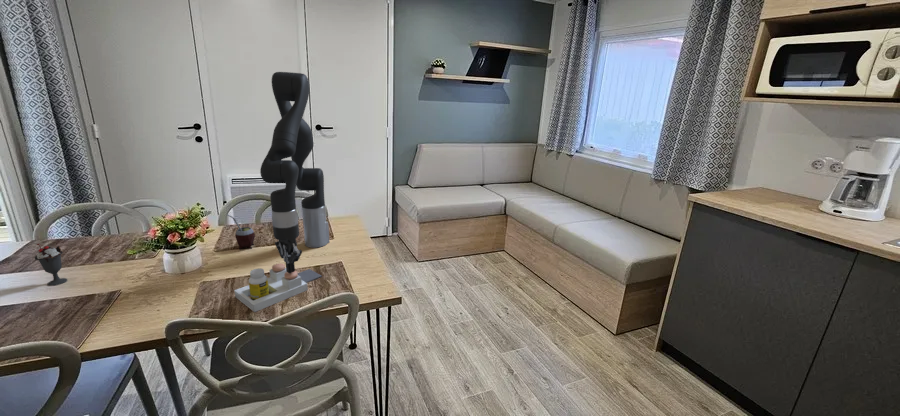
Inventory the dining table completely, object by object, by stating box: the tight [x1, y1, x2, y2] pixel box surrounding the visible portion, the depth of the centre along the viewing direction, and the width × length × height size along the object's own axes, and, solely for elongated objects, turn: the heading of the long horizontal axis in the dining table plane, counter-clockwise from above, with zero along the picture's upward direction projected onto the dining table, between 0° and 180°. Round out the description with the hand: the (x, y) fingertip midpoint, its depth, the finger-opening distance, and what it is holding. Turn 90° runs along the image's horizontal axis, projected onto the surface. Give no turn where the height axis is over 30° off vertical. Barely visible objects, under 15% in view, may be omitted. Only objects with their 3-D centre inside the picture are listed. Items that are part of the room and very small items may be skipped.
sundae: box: [34, 243, 68, 287], centre depth 129 cm, size 7×7×15 cm
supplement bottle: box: [248, 268, 270, 301], centre depth 125 cm, size 5×5×10 cm
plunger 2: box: [284, 270, 299, 280], centre depth 129 cm, size 4×4×4 cm
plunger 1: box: [271, 262, 286, 272], centre depth 134 cm, size 4×4×4 cm
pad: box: [297, 268, 323, 284], centre depth 140 cm, size 8×8×1 cm
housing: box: [233, 267, 309, 313], centre depth 128 cm, size 18×13×6 cm
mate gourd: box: [226, 213, 256, 251], centre depth 161 cm, size 8×8×15 cm
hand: (290, 271), depth 128 cm, fingers closed
